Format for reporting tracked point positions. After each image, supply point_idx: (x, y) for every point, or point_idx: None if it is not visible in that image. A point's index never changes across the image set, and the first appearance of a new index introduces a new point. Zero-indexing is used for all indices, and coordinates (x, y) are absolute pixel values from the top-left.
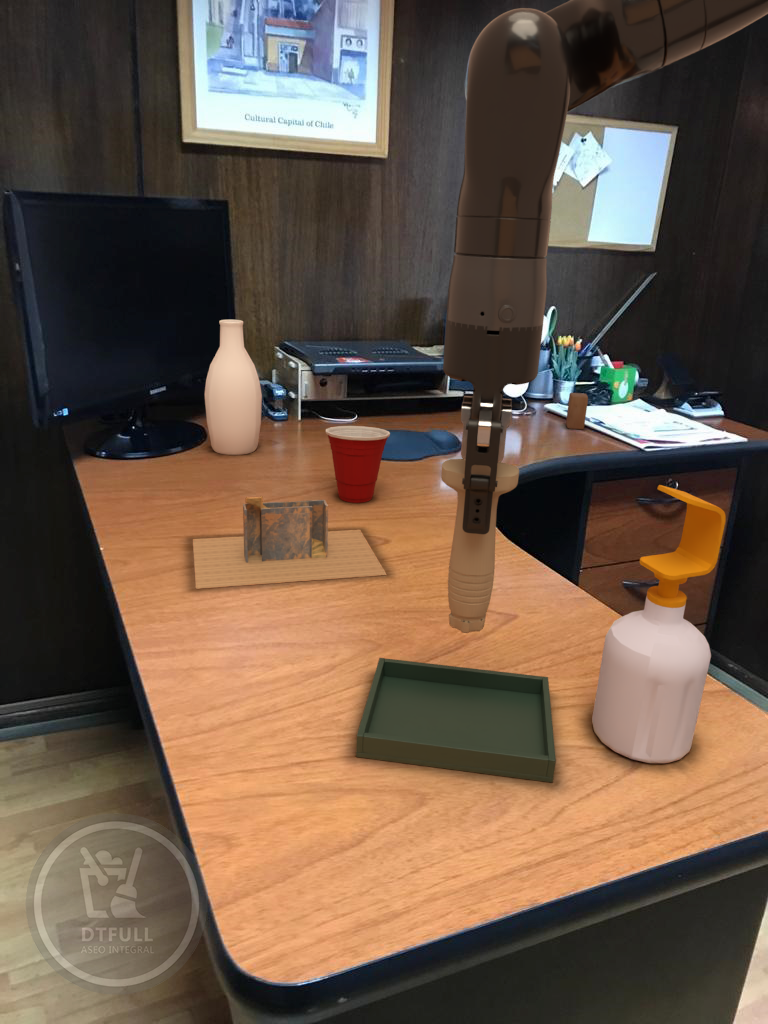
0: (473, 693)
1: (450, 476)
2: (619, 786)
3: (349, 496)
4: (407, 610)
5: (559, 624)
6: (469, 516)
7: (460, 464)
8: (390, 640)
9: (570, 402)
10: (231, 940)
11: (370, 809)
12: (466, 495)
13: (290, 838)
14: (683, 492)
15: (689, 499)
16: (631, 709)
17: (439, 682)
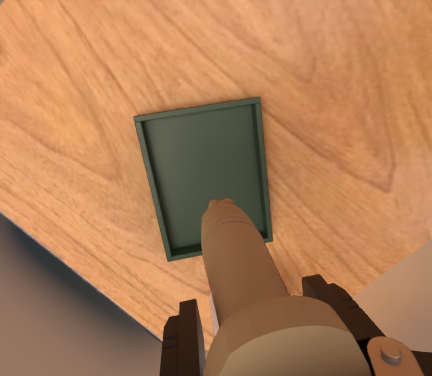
0: (249, 184)
1: (220, 353)
2: (182, 286)
3: None
4: (381, 88)
5: (379, 226)
6: (163, 342)
7: (305, 368)
8: (319, 88)
9: None
10: None
11: (86, 146)
12: (180, 367)
13: (28, 99)
14: None
15: None
16: (215, 314)
17: (256, 154)
